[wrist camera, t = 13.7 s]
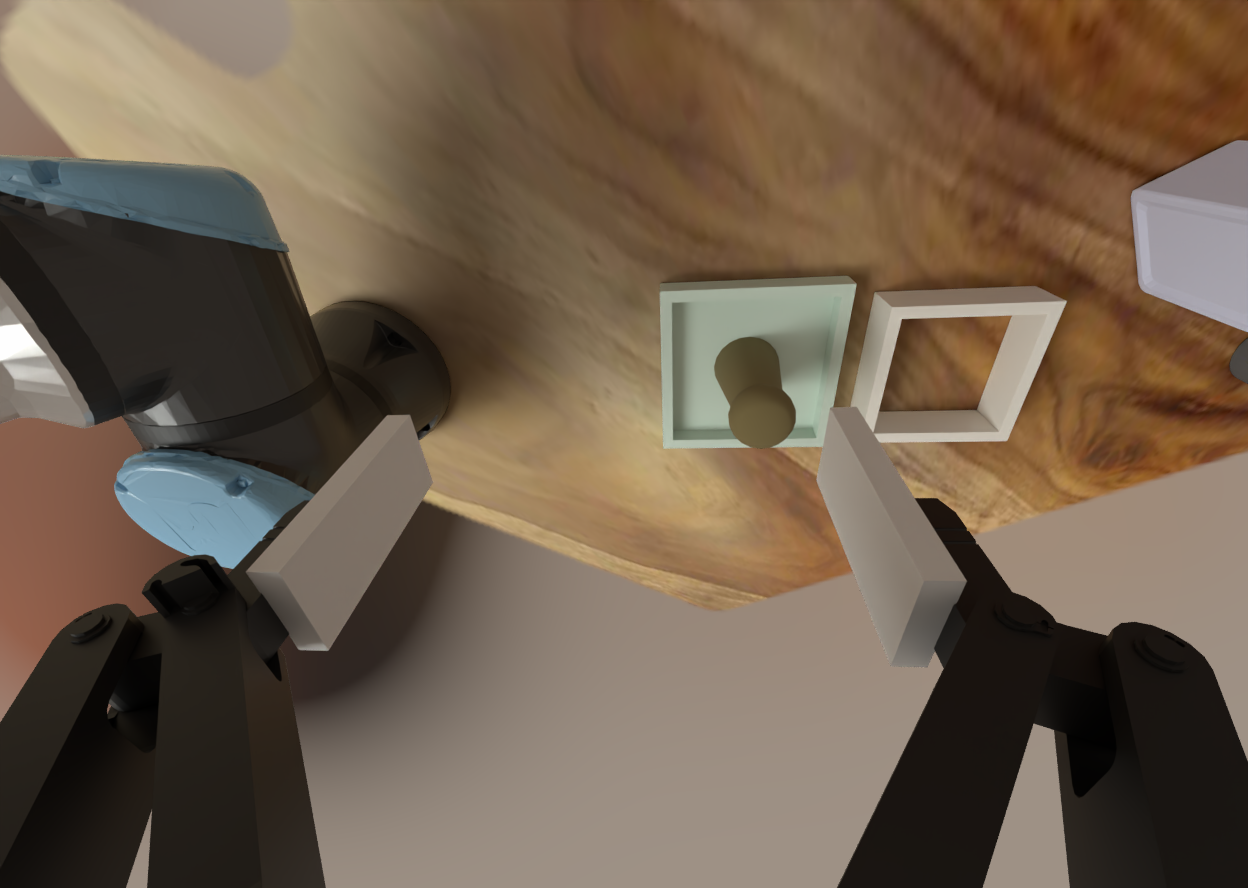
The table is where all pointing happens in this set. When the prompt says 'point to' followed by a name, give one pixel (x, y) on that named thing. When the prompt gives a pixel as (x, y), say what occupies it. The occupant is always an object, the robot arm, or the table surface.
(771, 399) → the cork
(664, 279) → the table surface
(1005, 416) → the frame
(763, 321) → the tray
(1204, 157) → the soap bottle
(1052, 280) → the table surface
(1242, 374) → the bottle
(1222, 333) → the table surface
